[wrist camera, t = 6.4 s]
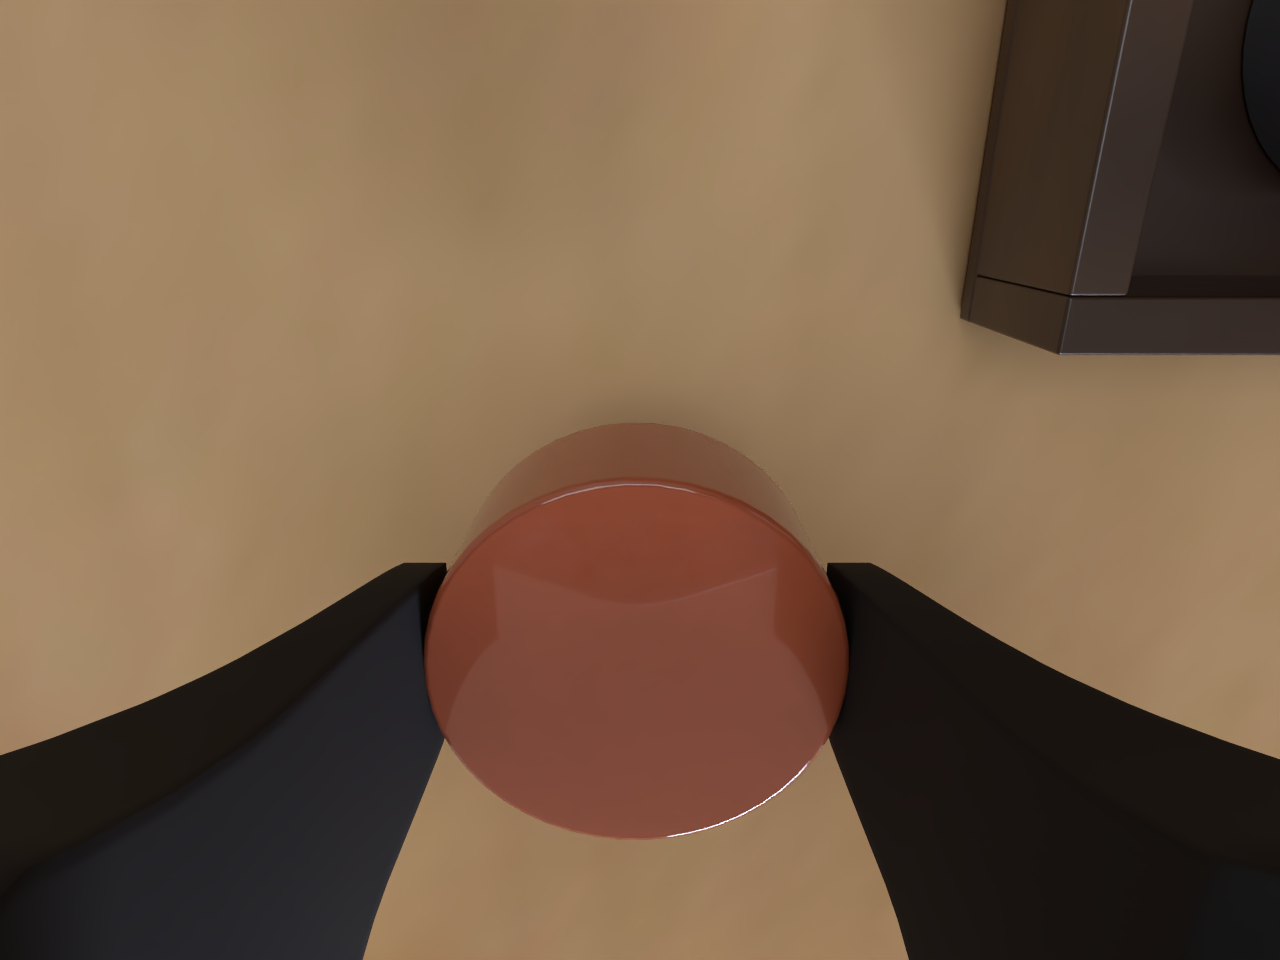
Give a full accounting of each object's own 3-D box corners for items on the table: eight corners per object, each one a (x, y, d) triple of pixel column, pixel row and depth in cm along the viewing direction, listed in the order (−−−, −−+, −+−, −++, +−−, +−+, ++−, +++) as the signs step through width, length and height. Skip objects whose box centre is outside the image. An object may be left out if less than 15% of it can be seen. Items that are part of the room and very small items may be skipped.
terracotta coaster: (879, 606, 12) (935, 701, 10) (617, 781, 13) (613, 901, 11) (660, 343, 10) (666, 383, 8) (390, 568, 12) (330, 657, 9)
